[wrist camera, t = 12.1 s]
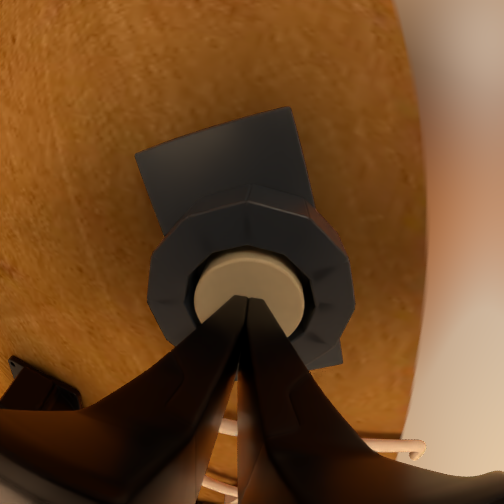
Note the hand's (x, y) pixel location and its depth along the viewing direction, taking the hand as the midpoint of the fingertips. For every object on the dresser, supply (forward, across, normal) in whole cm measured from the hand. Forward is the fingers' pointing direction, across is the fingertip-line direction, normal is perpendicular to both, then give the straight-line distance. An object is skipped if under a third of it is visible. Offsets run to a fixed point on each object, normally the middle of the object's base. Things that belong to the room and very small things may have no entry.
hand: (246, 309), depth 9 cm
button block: (+4, 0, 0) cm, 4 cm away
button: (+2, 0, 0) cm, 2 cm away
